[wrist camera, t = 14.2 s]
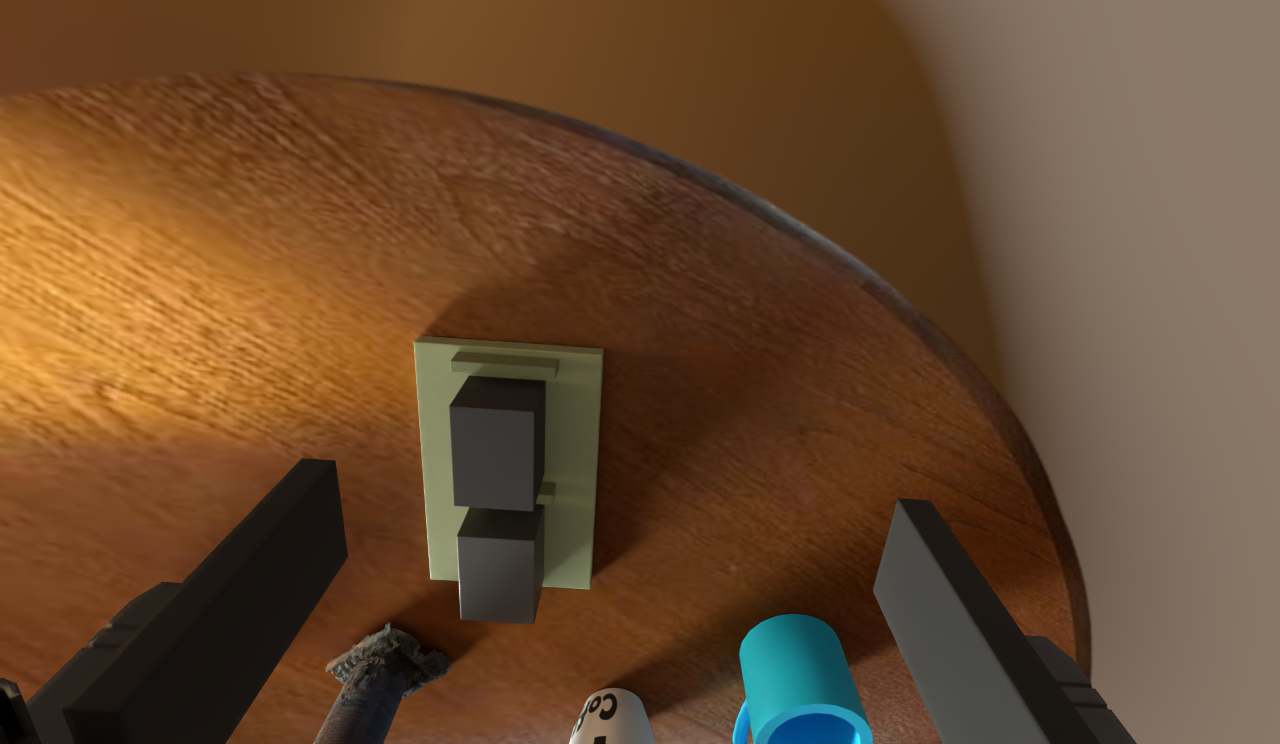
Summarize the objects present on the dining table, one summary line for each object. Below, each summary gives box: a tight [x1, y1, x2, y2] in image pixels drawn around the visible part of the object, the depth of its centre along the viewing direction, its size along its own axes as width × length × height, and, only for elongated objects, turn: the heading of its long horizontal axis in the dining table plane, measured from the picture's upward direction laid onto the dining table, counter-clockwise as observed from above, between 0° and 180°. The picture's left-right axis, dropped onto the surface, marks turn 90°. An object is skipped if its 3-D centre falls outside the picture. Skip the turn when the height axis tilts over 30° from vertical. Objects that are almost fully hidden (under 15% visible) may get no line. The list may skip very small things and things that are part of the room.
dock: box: [414, 336, 604, 624], centre depth 43 cm, size 19×12×6 cm, turn 176°
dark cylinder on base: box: [313, 622, 450, 744], centre depth 48 cm, size 9×8×12 cm
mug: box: [733, 614, 873, 744], centre depth 49 cm, size 12×8×8 cm
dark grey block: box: [449, 376, 546, 511], centre depth 41 cm, size 7×5×4 cm
